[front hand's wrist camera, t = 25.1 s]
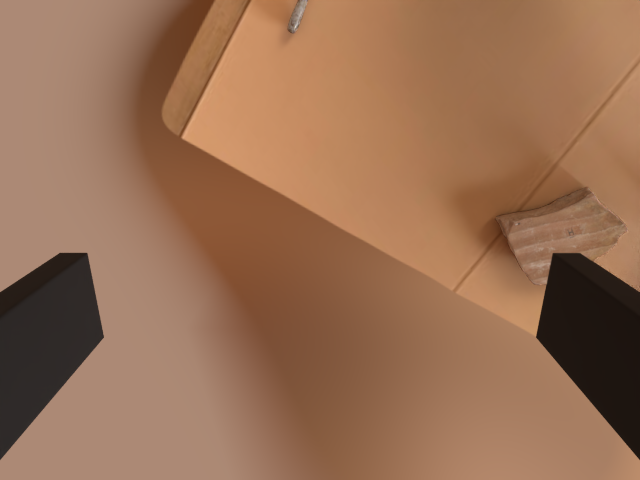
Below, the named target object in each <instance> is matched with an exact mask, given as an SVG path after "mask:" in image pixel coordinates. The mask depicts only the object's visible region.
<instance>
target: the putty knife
mask: <svg viewBox="0 0 640 480" xmlns="http://www.w3.org/2000/svg"><path fill="white" fill-rule="evenodd" d="M307 1H308V0H298V2H297V4H296V6H295V9H294V11H293V13H292V16H291V19H290V21H289V24H288V28H287V29H288V31H289V32H291V33H295V32H296V31H297V28H298V26H299V24H300V21H301V19H302V16H303V13H304V10H305V7H306V4H307Z"/></svg>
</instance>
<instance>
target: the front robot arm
mask: <svg viewBox="0 0 640 480" xmlns="http://www.w3.org/2000/svg"><path fill="white" fill-rule="evenodd" d="M103 338H104V335H103V330H102V325H101V320H100V315H99V310H98V305H97V300H96V295H95V290H94V285H93V280H92V275H91V269H90V264H89V259H88V254H87V253H59V254H58V255H56V256H55V257H53V258H52V259H50V260H49V261H47V262H46V263H44V264H43V265H41V266H40V267H38V268H36V269H35V270H33V271H32V272H30V273H29V274H27V275H26V276H24V277H23V278H21V279H20V280H18V281H17V282H15V283H14V284H12V285H11V286H9V287H8V288H6V289H5V290H3V291H2V292H0V459H1V458H2V457H3V456H4V455H5V454H6V452H7V451H8V450H9V449H10V448H11V446H12V445H13V444H14V443H15V442H16V441H17V439H18V438H19V437H20V436H21V435H22V434H23V432H24V431H25V430H26V429H27V428H28V426H29V425H30V424H31V423H32V422H33V420H34V419H35V418H36V417H37V416H38V415H39V413H40V412H41V411H42V410H43V409H44V408H45V406H46V405H47V404H48V403H49V402H50V400H51V399H52V398H53V397H54V396H55V394H56V393H57V392H58V391H59V390H60V389H61V387H62V386H63V385H64V384H65V383H66V381H67V380H68V379H69V378H70V377H71V376H72V374H73V373H74V372H75V371H76V370H77V368H78V367H79V366H80V365H81V364H82V363H83V361H84V360H85V359H86V358H87V357H88V356H89V354H90V353H91V352H92V351H93V349H94V348H95V347H96V346H97V345H98V344H99V343H100V341H101V340H102V339H103ZM536 338H537V339H538V340H539V341H540V343H541V344H542V345H543V346H544V347H545V348H546V350H547V351H548V352H549V353H550V354H551V356H552V357H553V358H554V359H555V360H556V361H557V363H558V364H559V365H560V366H561V367H562V368H563V370H564V371H565V372H566V373H567V374H568V376H569V377H570V378H571V379H572V380H573V382H574V383H575V384H576V385H577V386H578V387H579V389H580V390H581V391H582V392H583V393H584V395H585V396H586V397H587V398H588V399H589V400H590V402H591V403H592V404H593V405H594V406H595V408H596V409H597V410H598V411H599V412H600V413H601V415H602V416H603V417H604V418H605V419H606V420H607V422H608V423H609V424H610V425H611V426H612V428H613V429H614V430H615V431H616V432H617V433H618V435H619V436H620V437H621V438H622V439H623V441H624V442H625V443H626V444H627V445H628V447H629V448H630V449H631V450H632V451H633V452H634V454H635V455H636V456H637V457H638V458H639V460H640V292H638V291H637V290H635V289H634V288H632V287H631V286H629V285H628V284H626V283H625V282H623V281H622V280H620V279H619V278H617V277H616V276H614V275H613V274H611V273H610V272H608V271H607V270H605V269H604V268H602V267H601V266H599V265H597V264H596V263H594V262H593V261H591V260H590V259H588V258H587V257H585V256H584V255H582V254H581V253H553V254H552V259H551V264H550V269H549V275H548V280H547V285H546V290H545V295H544V300H543V305H542V310H541V315H540V320H539V325H538V330H537V335H536Z"/></svg>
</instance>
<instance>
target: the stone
mask: <svg viewBox="0 0 640 480" xmlns="http://www.w3.org/2000/svg"><path fill="white" fill-rule="evenodd" d="M495 219H496V221H497V222H498V223H499V225H500V228H501V230H502V232H503V234H504V236H505V237H506V238H507V239H508V244H509V247H510V249H511V251H512V252H513V254H514V255H515V256H516V259H517V261H518V263H519V266H520V267H521V269H522V270H523V271H524V272H525V274H526V275H527V276H528V278H529V279H530V281H531V282H532V283H533V284H535V285H545V284H547V280H548V275H549V269H550V264H551V259H552V254H553V253H581V254H582V255H584V256H585V257H587V258H588V259H590V260H591V261H593V262H594V260H595V259H597V258H598V257H600V256H602V255H604V254H606V253H607V252H608V251H609V250H611V249H612V248H613V247H614V246H615V245H616V243H617V240H618V237H619V236H620V235H622V234H623V233H625V232H627V230H628V229H627V227H626V225H625V223H624V222H623V221H622V220H621V219H620V218H619V217H618V216H617V215H615V214H614V213H613V212H612V211H611V210H609V209H608V208H606V207H605V206H604V205H603V204H602V203H600V201H599V200H598V199H597V197H596V196H595V194H594V193H593V192H592V191H591V190H590V189H589V188H588V187H585V188H583V189H581V190H578V191H576V192H573V193H571V194H570V195H568V196H565V197H563V198H559V199H557V200H555V201H554V202H552V203H551V204H550V205H546V206H544V207H541V208H539V209H534V210H530V211H523V212H515V213H511V214H505V215H500V216H497V217H496V218H495Z"/></svg>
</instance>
